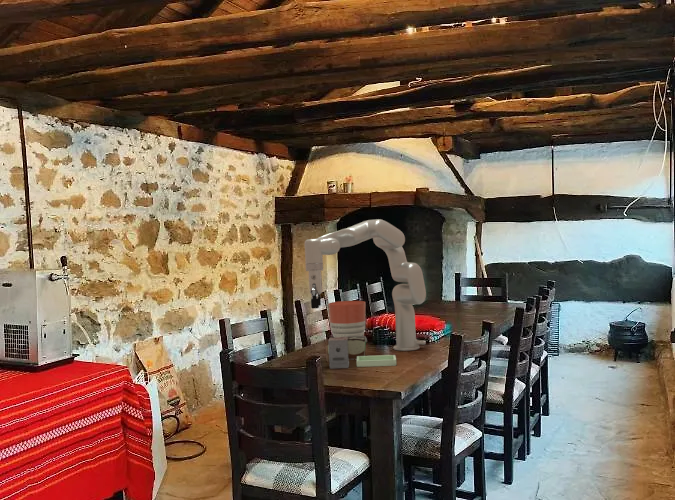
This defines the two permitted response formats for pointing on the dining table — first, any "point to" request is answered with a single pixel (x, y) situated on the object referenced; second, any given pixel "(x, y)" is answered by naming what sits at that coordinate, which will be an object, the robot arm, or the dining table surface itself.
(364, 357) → the tray
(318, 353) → the dining table surface
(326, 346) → the walnut cartridge
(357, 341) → the food container
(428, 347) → the dining table surface
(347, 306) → the planter
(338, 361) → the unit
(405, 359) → the dining table surface
